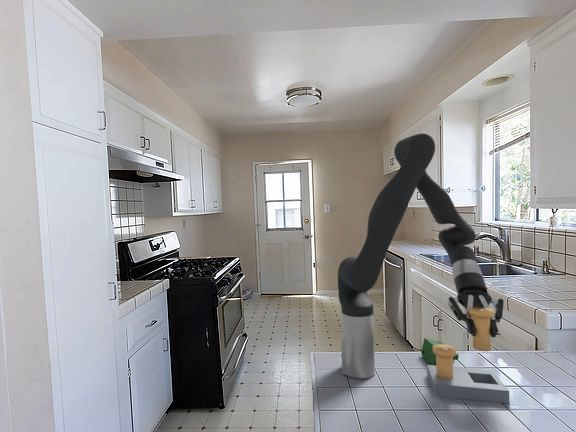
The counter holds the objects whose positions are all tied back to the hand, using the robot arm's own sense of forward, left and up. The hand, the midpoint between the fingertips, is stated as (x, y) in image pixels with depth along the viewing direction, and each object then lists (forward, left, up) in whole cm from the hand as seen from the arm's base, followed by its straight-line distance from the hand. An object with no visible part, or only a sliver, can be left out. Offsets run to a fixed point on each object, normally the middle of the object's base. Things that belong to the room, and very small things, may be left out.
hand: (484, 335), depth 82 cm
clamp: (-7, +17, -15) cm, 24 cm away
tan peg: (0, +2, -4) cm, 5 cm away
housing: (-5, +2, -15) cm, 16 cm away
